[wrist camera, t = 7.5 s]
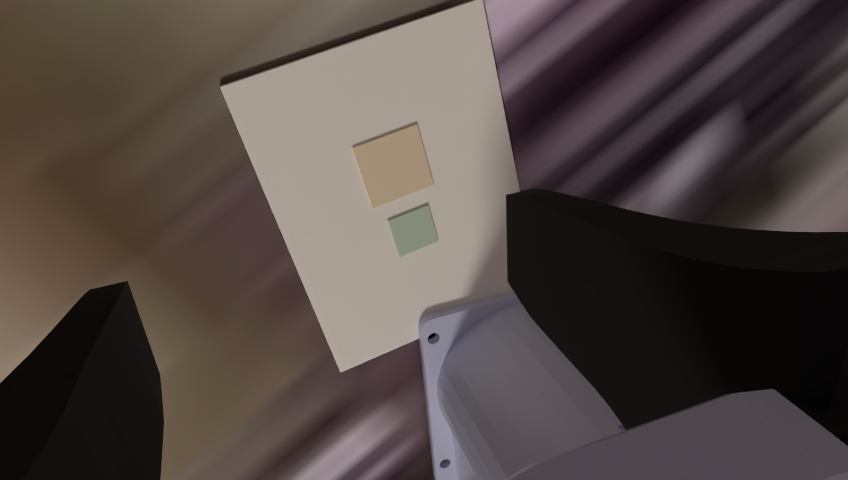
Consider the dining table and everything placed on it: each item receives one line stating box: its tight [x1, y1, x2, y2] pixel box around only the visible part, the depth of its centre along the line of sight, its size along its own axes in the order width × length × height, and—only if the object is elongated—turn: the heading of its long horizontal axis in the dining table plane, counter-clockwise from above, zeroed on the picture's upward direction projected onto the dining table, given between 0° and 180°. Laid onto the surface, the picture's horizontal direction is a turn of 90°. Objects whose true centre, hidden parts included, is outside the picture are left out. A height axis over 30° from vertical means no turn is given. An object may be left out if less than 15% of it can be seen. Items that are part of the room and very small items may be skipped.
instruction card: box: [220, 0, 520, 373], centre depth 23 cm, size 12×9×1 cm
